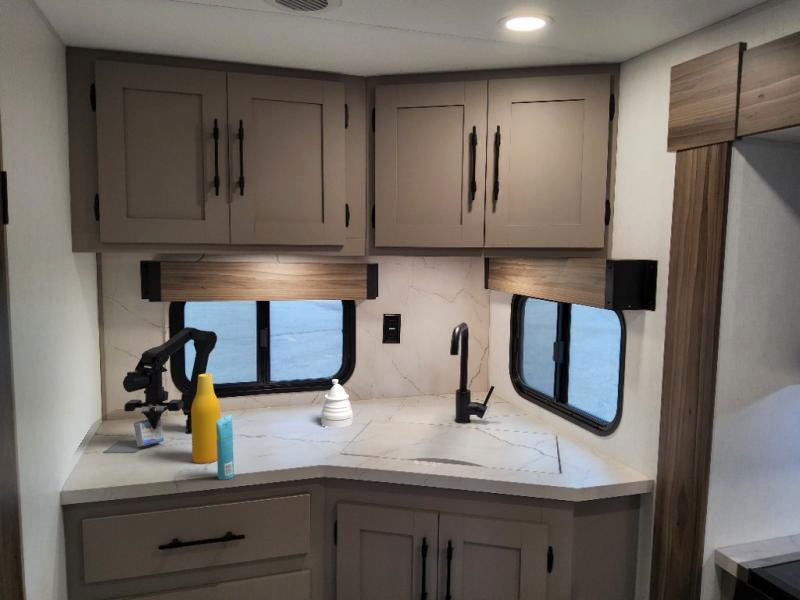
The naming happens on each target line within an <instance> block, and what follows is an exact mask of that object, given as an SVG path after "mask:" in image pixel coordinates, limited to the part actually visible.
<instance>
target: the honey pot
mask: <svg viewBox="0 0 800 600" xmlns="http://www.w3.org/2000/svg"><path fill="white" fill-rule="evenodd" d="M331 382H332V385H333V386H332V387H331V388H330V389H329V392H328V393H326V394H325V395H324V399H325V402H324V404H323V407H322V409H321V413H320V414H321V419H320V421H321V423H322V425H324V426H328V427H345V426H349V425H351V424H352V423H353V424H354V416H353V415H354V414H353V413H354V410H353V408H352V405H351V402H350V400H349V397H350V395H349V394H348V393H347V392H346V390H345V388H344V387H343V386H342V385H341V384H339V379H336V378H335V379H331ZM321 423H320V424H321ZM322 425H321V426H322Z"/></svg>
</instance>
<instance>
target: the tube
mask: <svg viewBox="0 0 800 600" xmlns="http://www.w3.org/2000/svg"><path fill="white" fill-rule="evenodd" d="M233 431H234V430H233V415H232V414H231V413H230V414H228V415H226V416H225V417H221V418H220V419H219V420H217V461H216V462H217V463H216V464H217V467H216V469H217V479H218V480H220V481H221V480H224V481H225V480H229V479H232V478H233V477H234V476H235V471H234V470H235V469H234V468H235V467H234V466H235V465H234V462H235V461H234V436H233V435H234V433H233Z"/></svg>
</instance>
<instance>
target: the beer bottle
mask: <svg viewBox="0 0 800 600" xmlns="http://www.w3.org/2000/svg"><path fill="white" fill-rule="evenodd" d="M212 376H213V375H212V374H211V373H206V374H200V375H199V376H198V386H197V394H196V396H195V398H194V401H193V403H192V408H191V420H192V433H191V458H192V462H194V463H196V464H199V463H200V464H201V465H202V464H203V465H205V463H207V464H211V462H212V463H215V462H217V420H219V419H221V406H220V401H219V399H218V397H217V395H216V394H215V390H214V383H213V381H214V380H213V377H212Z"/></svg>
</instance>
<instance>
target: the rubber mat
mask: <svg viewBox="0 0 800 600" xmlns="http://www.w3.org/2000/svg"><path fill="white" fill-rule="evenodd" d="M141 447H142V446H140V447H137V440H136V439H129V440H128V439H122V440H121V439H118V440H116V442H115V443H112V445H110V446H109V447H108V448H107V449H105V450H104V451H103V452H102V453H103V454H136V453H137V452H139V450H141V449H140V448H141ZM142 448H143V447H142Z"/></svg>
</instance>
